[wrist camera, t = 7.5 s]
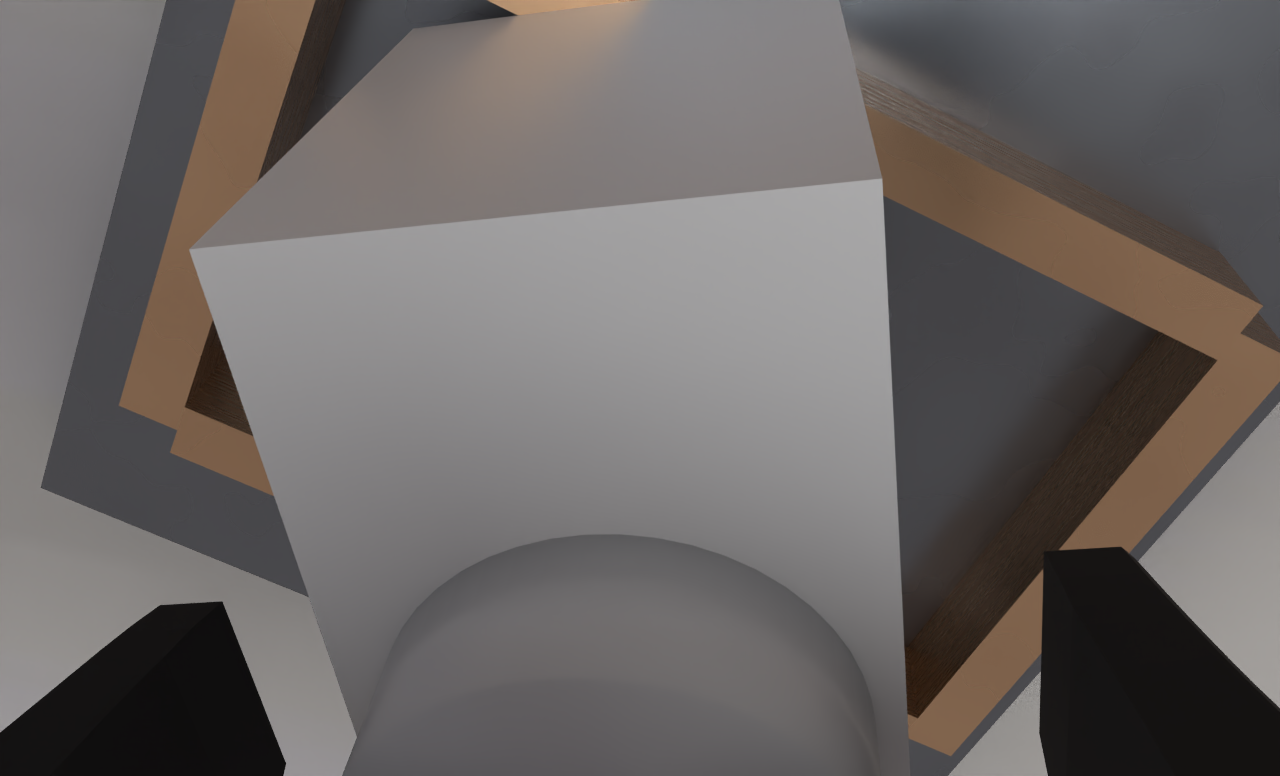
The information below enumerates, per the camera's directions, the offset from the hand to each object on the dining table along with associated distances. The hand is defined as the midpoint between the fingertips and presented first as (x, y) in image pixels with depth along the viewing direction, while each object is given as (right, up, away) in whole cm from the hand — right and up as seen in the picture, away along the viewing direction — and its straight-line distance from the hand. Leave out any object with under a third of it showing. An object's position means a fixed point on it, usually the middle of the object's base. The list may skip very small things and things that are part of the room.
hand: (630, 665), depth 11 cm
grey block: (0, +3, +4) cm, 5 cm away
